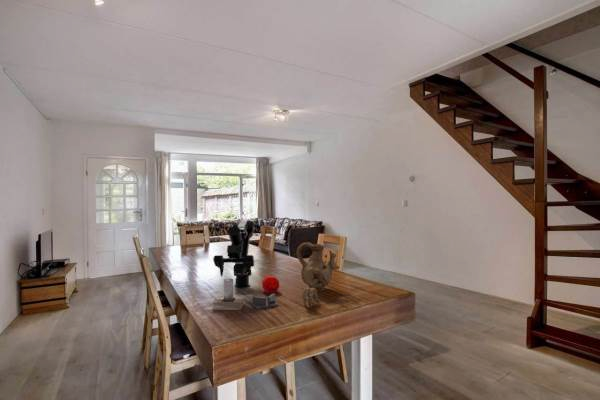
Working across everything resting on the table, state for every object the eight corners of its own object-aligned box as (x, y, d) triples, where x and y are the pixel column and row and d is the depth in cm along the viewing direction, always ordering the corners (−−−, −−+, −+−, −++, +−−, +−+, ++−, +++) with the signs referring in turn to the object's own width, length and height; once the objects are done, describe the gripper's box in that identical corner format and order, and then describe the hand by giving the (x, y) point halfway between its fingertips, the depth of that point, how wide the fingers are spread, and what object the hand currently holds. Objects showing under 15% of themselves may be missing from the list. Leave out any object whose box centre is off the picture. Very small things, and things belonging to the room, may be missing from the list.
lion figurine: (312, 310, 129) (312, 289, 130) (300, 309, 131) (300, 288, 131) (319, 300, 143) (319, 280, 144) (308, 299, 145) (308, 280, 145)
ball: (264, 294, 152) (264, 279, 152) (261, 290, 160) (261, 275, 160) (280, 293, 155) (280, 278, 155) (276, 289, 162) (276, 274, 163)
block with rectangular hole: (217, 304, 138) (217, 297, 138) (243, 303, 138) (243, 297, 138) (212, 309, 131) (212, 302, 131) (240, 309, 131) (240, 302, 131)
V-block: (248, 302, 140) (248, 293, 140) (270, 299, 145) (270, 290, 145) (255, 309, 131) (255, 299, 131) (279, 305, 136) (279, 296, 136)
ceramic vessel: (317, 297, 148) (317, 245, 148) (290, 289, 161) (290, 242, 162) (340, 289, 161) (340, 242, 162) (313, 283, 174) (313, 239, 175)
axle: (229, 304, 137) (229, 277, 137) (235, 306, 134) (235, 279, 135) (222, 306, 134) (222, 279, 134) (227, 309, 132) (227, 281, 132)
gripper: (214, 238, 146) (207, 266, 135) (253, 238, 146) (249, 266, 135) (218, 252, 154) (212, 279, 142) (255, 252, 154) (252, 279, 142)
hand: (231, 276), depth 140 cm, fingers open, 9 cm apart
